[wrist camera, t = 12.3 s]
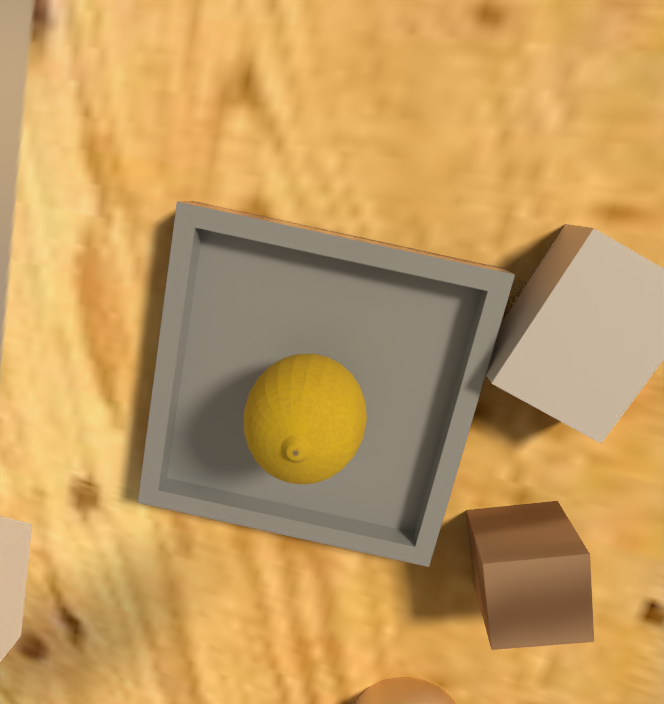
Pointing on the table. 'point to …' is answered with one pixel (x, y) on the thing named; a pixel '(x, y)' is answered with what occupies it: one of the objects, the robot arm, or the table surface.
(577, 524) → the table surface
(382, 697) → the cream rounded cylinder
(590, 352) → the grey box
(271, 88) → the table surface
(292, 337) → the dish
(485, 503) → the table surface
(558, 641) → the walnut block
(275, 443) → the lemon
